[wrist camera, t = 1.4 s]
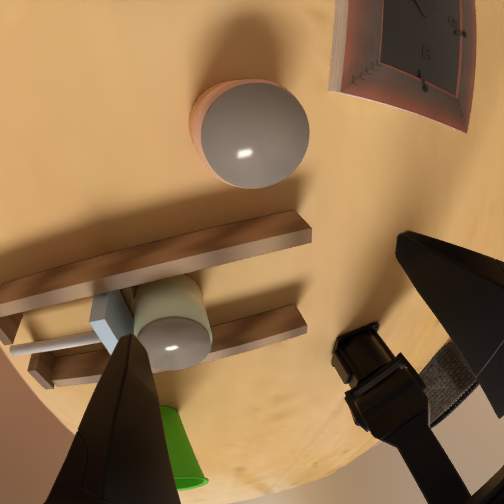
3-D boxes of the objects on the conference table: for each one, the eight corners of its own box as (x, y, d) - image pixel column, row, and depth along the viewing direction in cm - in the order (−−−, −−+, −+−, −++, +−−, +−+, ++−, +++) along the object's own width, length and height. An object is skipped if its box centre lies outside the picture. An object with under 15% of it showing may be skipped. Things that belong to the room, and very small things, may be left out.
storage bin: (441, 345, 53) (472, 385, 42) (473, 331, 60) (499, 362, 49) (382, 411, 67) (403, 446, 56) (421, 393, 73) (440, 422, 63)
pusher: (111, 273, 20) (104, 319, 16) (145, 340, 25) (147, 384, 21) (-4, 302, 18) (-21, 342, 14) (39, 358, 22) (31, 397, 18)
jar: (272, 77, 16) (310, 76, 12) (278, 157, 19) (313, 182, 15) (182, 87, 15) (189, 86, 11) (196, 172, 18) (207, 202, 14)
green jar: (194, 264, 22) (205, 311, 18) (208, 314, 26) (220, 361, 21) (125, 280, 21) (120, 330, 17) (147, 328, 24) (150, 377, 20)
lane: (294, 210, 22) (315, 232, 19) (294, 312, 29) (309, 337, 26) (-6, 286, 17) (-20, 313, 14) (52, 365, 24) (48, 392, 21)
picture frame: (333, -104, 7) (323, 90, 18) (348, -114, 5) (341, 92, 16) (456, -31, 11) (450, 127, 23) (472, -32, 9) (468, 134, 21)
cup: (175, 392, 31) (191, 474, 22) (201, 417, 36) (218, 483, 28) (115, 406, 30) (121, 482, 21) (148, 430, 35) (158, 493, 27)
